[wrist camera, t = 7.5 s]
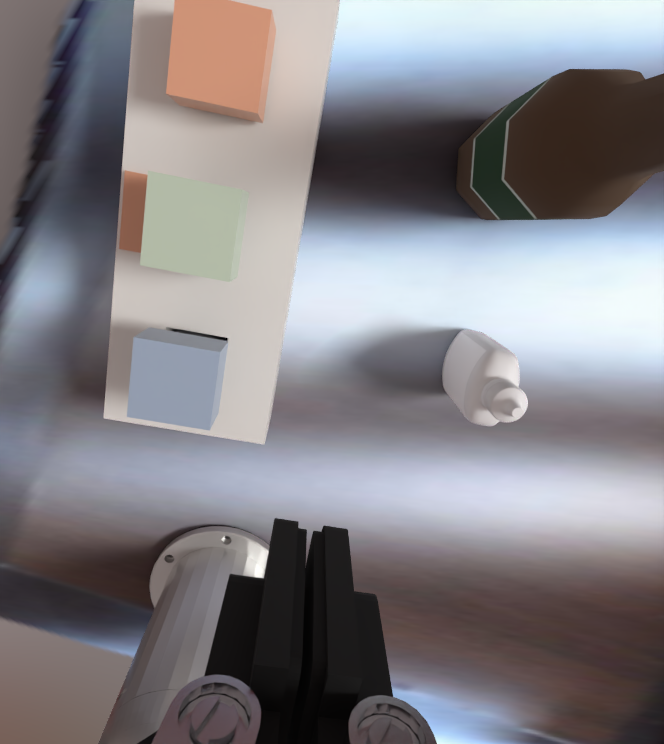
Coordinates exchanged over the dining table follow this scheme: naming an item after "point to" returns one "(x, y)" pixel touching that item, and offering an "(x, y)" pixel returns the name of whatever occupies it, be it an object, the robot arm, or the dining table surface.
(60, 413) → the dining table surface
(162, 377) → the slate button
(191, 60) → the terracotta button
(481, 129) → the beer bottle
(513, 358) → the eye dropper bottle
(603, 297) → the dining table surface
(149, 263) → the sage button
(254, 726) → the robot arm
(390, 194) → the dining table surface
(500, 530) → the dining table surface
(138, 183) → the console
